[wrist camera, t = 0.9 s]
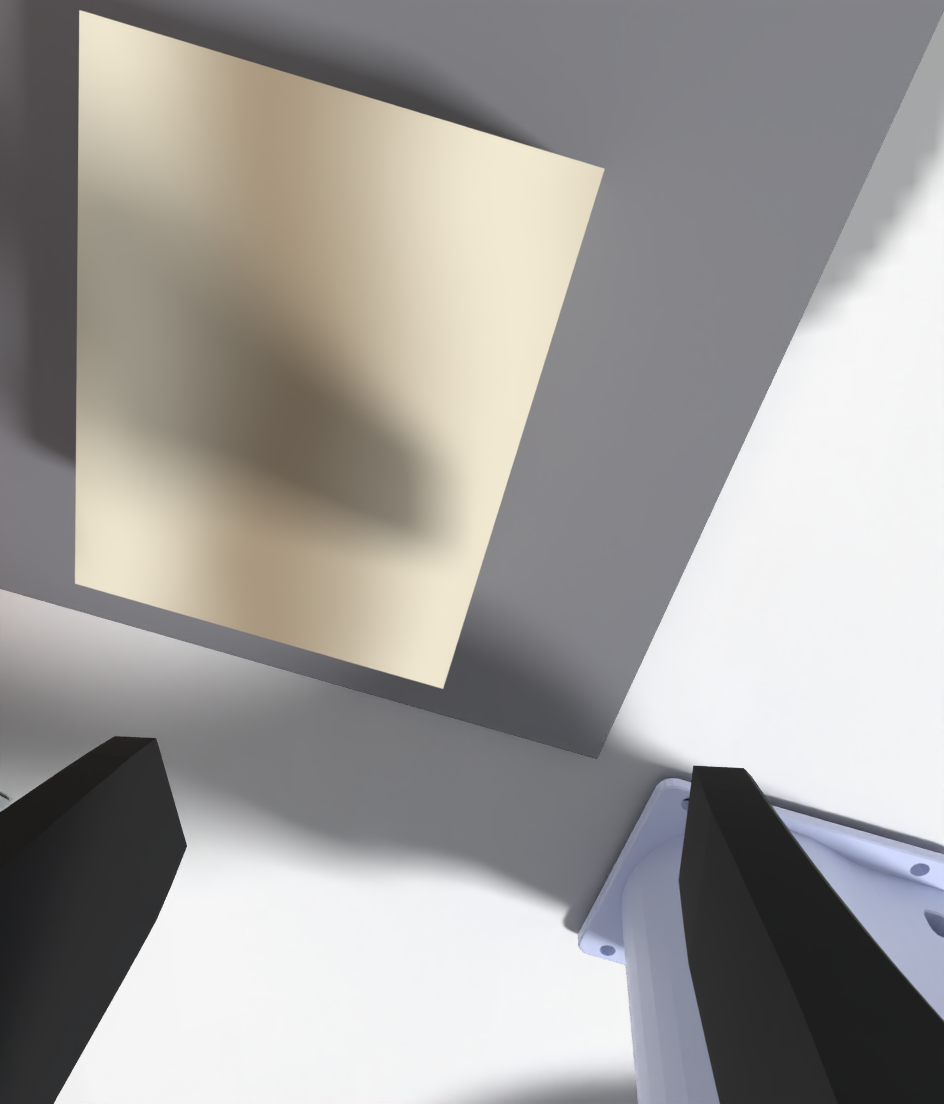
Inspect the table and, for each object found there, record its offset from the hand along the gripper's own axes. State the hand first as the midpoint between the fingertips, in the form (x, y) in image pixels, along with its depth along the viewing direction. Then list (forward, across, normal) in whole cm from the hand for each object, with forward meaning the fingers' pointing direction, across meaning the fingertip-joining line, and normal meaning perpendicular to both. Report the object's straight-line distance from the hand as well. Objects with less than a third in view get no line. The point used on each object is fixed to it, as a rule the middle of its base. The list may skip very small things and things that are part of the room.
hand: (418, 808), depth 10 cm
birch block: (+9, +3, -4) cm, 10 cm away
